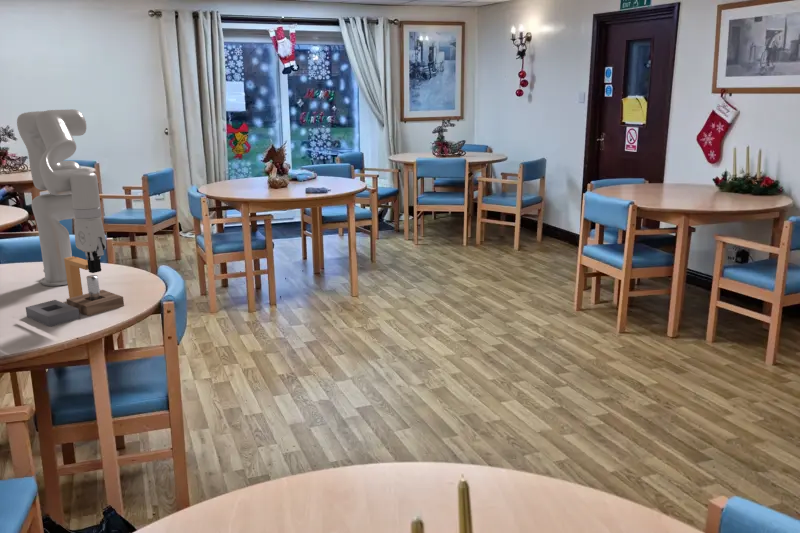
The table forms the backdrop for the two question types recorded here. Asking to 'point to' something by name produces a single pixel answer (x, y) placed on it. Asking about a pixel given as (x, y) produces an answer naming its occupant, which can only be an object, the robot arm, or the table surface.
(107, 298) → the socket block
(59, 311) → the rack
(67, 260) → the orange angle bracket
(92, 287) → the grey metal rod
